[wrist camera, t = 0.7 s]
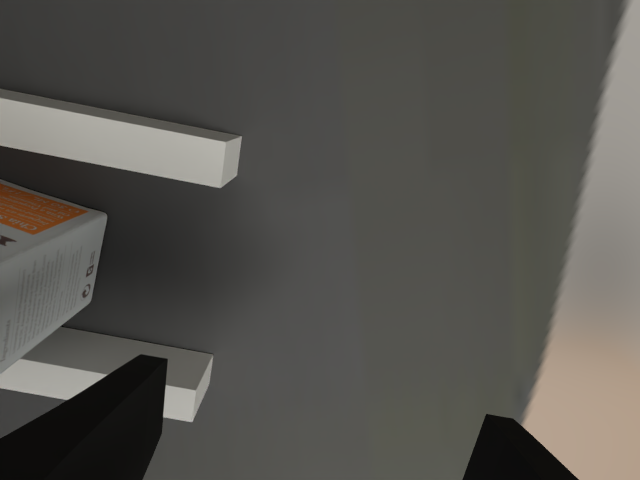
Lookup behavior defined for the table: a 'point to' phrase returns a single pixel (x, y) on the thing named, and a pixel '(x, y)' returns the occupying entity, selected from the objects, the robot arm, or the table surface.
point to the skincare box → (43, 266)
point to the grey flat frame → (129, 154)
